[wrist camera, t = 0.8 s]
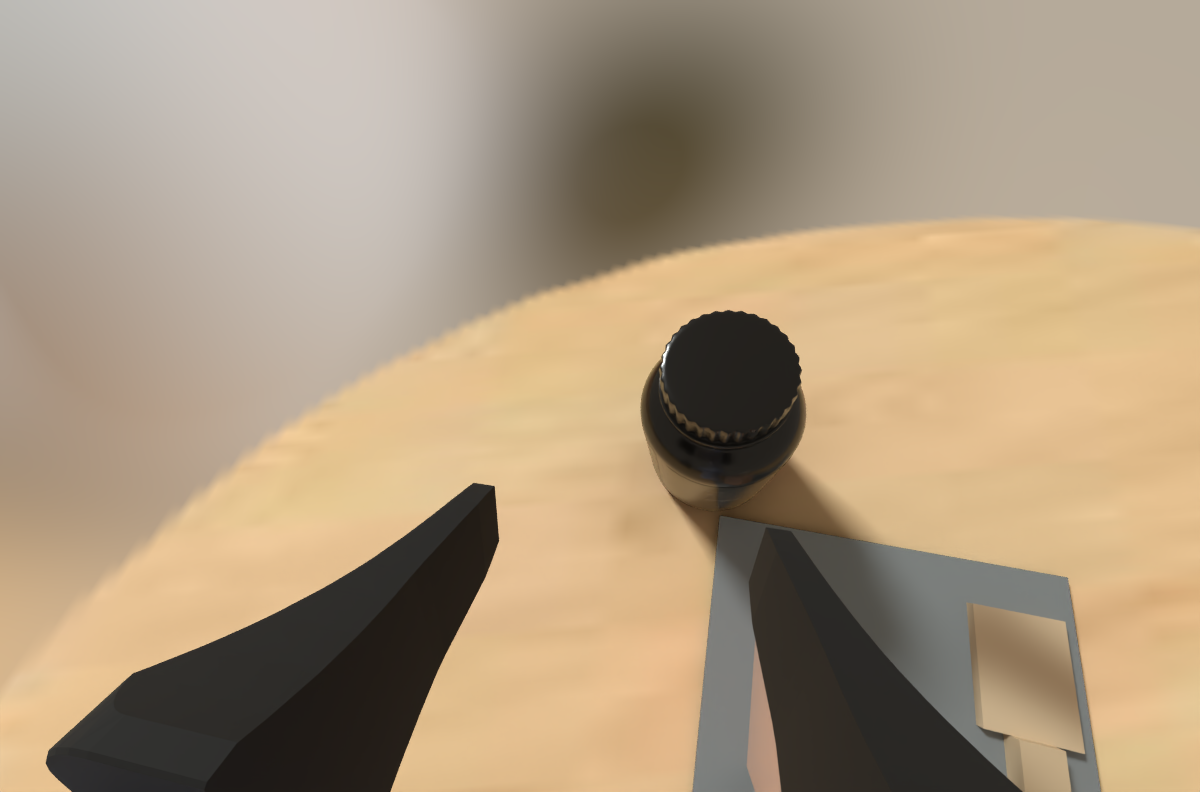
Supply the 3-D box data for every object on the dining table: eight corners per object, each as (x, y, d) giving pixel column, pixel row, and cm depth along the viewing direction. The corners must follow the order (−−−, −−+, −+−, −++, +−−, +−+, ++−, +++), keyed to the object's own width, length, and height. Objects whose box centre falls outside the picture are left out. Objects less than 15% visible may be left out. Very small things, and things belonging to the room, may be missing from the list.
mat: (1131, 1049, 15) (1142, 1060, 15) (683, 882, 19) (683, 889, 19) (1060, 577, 21) (1067, 577, 20) (719, 516, 24) (720, 515, 24)
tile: (781, 777, 19) (832, 881, 13) (746, 766, 20) (779, 863, 13) (789, 588, 22) (835, 597, 16) (758, 581, 22) (791, 588, 16)
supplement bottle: (780, 417, 26) (857, 307, 15) (753, 529, 24) (819, 498, 13) (669, 387, 28) (664, 270, 17) (636, 489, 26) (604, 432, 15)
